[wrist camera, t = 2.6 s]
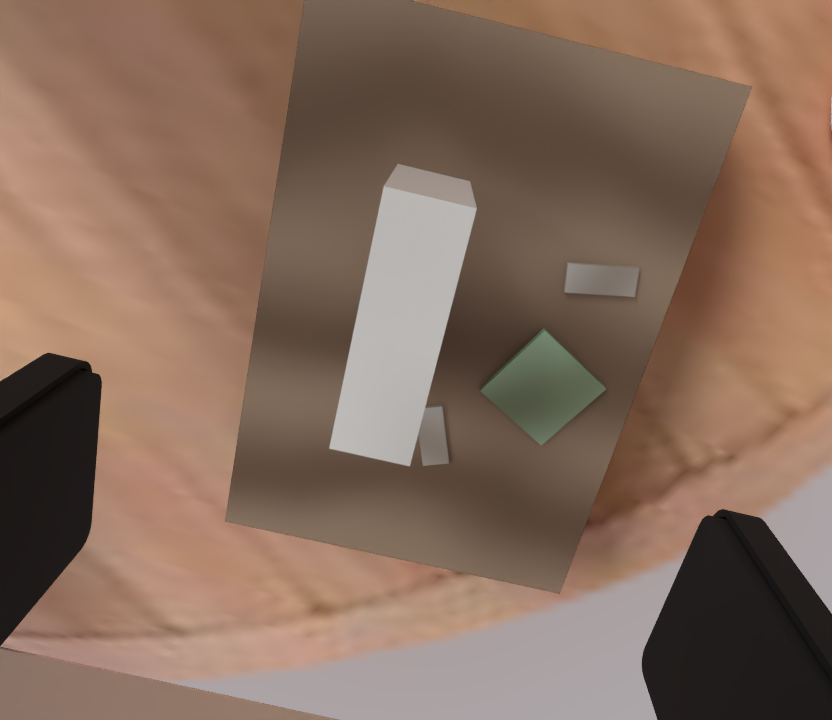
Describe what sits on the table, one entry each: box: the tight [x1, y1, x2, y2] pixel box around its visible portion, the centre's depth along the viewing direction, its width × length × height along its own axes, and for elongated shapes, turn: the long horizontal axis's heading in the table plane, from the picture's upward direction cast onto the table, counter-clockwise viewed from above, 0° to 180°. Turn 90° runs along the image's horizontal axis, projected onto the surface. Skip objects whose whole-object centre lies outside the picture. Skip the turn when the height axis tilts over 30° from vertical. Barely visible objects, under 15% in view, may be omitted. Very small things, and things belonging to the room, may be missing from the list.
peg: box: [329, 164, 477, 466], centre depth 21 cm, size 10×2×7 cm, turn 167°
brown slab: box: [225, 0, 752, 594], centre depth 27 cm, size 20×14×5 cm
